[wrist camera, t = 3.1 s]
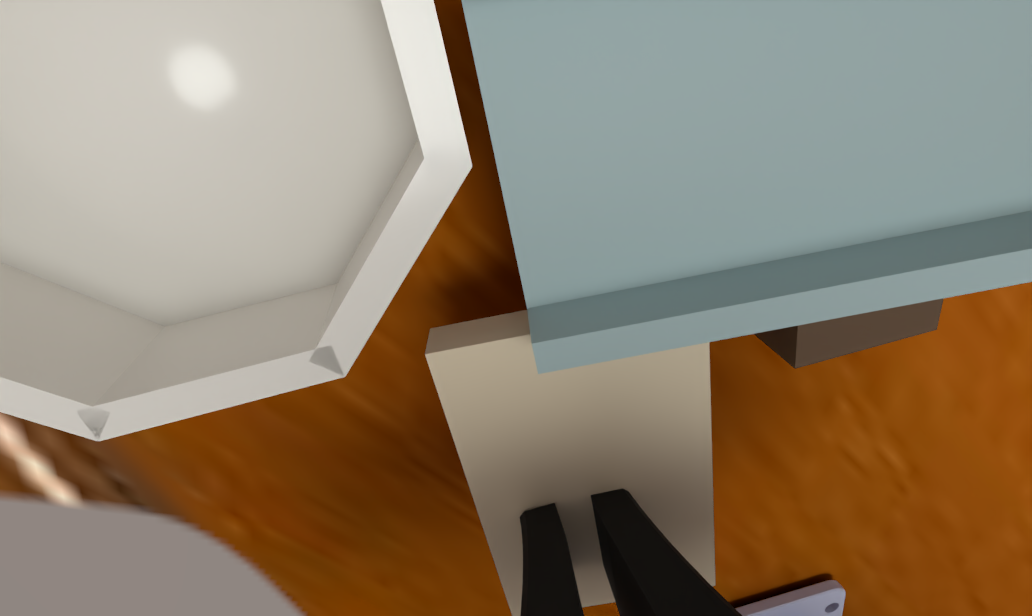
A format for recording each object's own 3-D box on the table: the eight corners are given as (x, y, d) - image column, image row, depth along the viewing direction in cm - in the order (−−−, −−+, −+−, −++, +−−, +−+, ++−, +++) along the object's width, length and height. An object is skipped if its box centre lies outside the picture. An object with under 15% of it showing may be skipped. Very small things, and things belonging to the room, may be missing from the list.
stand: (846, 239, 12) (1032, 322, 9) (601, 303, 12) (686, 419, 8) (899, -246, 8) (1285, -483, 5) (536, -175, 8) (643, -368, 4)
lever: (1177, 473, 11) (1406, 621, 8) (511, 584, 12) (518, 753, 9) (1620, -321, 6) (2738, -668, 3) (319, -17, 6) (187, -54, 4)
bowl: (488, 264, 11) (511, 333, 8) (41, 377, 10) (-86, 490, 8) (332, -382, 7) (277, -663, 4) (-442, -250, 6) (-1093, -477, 3)
